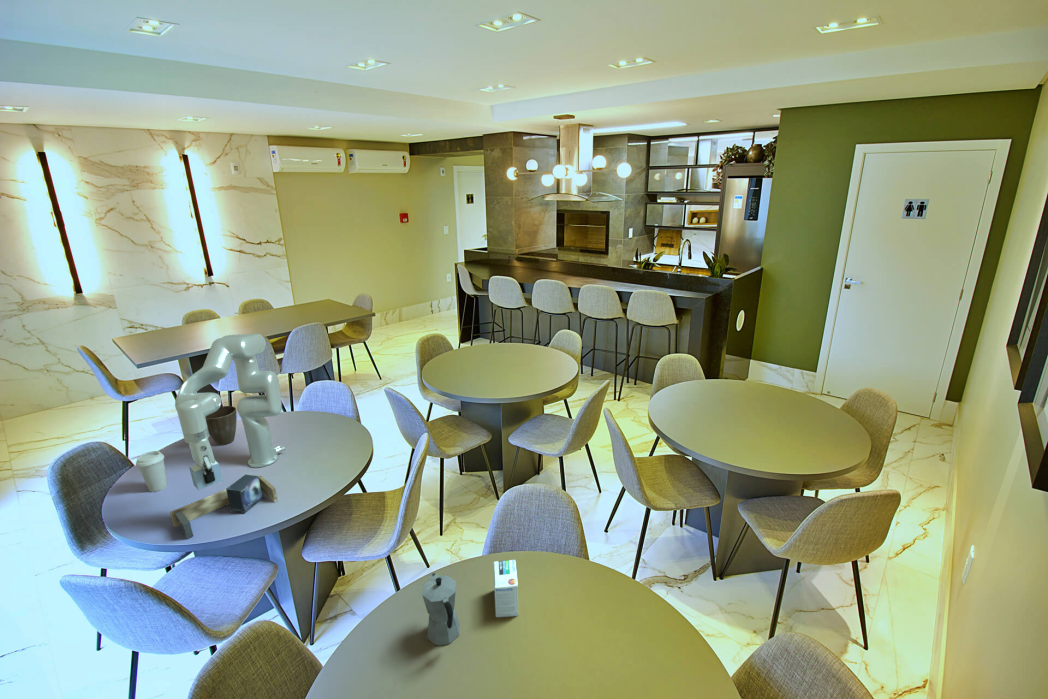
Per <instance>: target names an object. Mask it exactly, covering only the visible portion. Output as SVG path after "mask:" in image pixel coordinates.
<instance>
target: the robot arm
mask: <svg viewBox="0 0 1048 699" xmlns="http://www.w3.org/2000/svg"><path fill="white" fill-rule="evenodd" d="M266 342H267V341H266V338H265V337H264V336H263V335H262V334H259V333H245V334H243V333H242V334H241V333H240V334H228V335H224V336H222V337H220V338H219V337H218V338H216V339H215V340H214V341H212V344H211V345H210V348H209V350H208V352H207V356H206V357H205V358H206V359H205V360H204V363H203V366H202V367H201V368H200V369H198V370H197V371H196V372H194V373H192V374H191V375H190V376H189V377H188V378H187V379H186V380H185V381H184V382H182V384H181V386H180V388H179V390H178V392H177V394H176V398H175V401H174V408H175V410H176V412H177V416H178V420H179V424H180V427H181V431H182V432H181V433H182V435H183V439H184V442H185V443H186V444H188V445H189V451H190V454H191V457H192V459H193V461H194V463H195V464H196V465H197V464H198V465H199V466H200V467H202V470H203V473H204V474H203V477H204V481H205V483H206V484H208V483H211V482H213V481H215V476H214V472H213V469H212V466H211V463H215V460H216V458H215V456H214V452H213V449H212V445H211V442H210V441H209V437H211V436H210V434H209V431H208V427H207V423H206V419H205V417H206V416H207V415H209V414H211V413H214V412H215V411H217V410H218V409H219V408H220V407H221V405H222V397H221V395H219V393H216V392H198V391H199V390H201V389H202V388H204V387H206V386H209V385H211V384H214V383H216V382H219V381H221V380H222V379H224V378H226V377H227V375H228V373H229V371H230V370H229V369H230V367H231V365H232V361H233V363H234V364H235V365H234V367H235V370H236V371H235V372H236V378H237V385H238V389H239V391H240V393H243V394H259V395H247V396H244V397H242V398H240V399H239V400H238V401H237V404H236V411H237V413H238V415H239V417H240V418H241V422H242V425H243V428H244V433H245V438H246V442H247V447H248V450H249V455H250V458H248V461H247V465H248V466H249V467H251V468H263V467H267V466H270V465H273V464H274V463H275V462H277V461H278V460H279V458H280V457H279V453H280V452H284V451H286V448H285V446H284V445H282V446H280V445H277V446H276V447H274V445H273V439H272V435H271V431H270V425H269V422H268V420H267V419H266V418H267V417H268V418H272V417H277V416H279V415H280V414H281V412H282V410H283V408H282V407H283V403H282V395H281V387H280V380H279V376H278V375H277V373H275V371H272V370H260V368H259V363H258V359H257V355H261V354H262V353H263V352H264V351H265V350H266V346H267V343H266ZM260 394H263V395H260ZM210 462H211V463H210ZM203 464H205V465H204V466H203ZM204 467H207V468H206V469H205V468H204Z"/></svg>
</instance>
